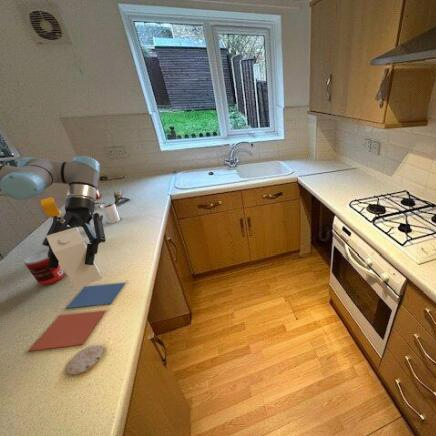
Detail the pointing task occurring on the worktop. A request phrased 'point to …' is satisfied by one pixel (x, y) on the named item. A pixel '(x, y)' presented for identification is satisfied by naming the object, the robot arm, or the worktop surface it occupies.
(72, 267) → the milk carton
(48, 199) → the soap bottle
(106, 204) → the white cup
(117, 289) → the slate-blue mat
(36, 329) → the worktop surface
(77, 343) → the terracotta mat
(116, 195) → the artificial flower
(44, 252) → the canned food
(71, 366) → the flatbread
